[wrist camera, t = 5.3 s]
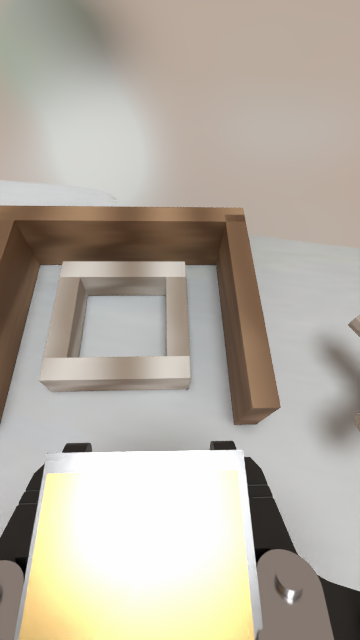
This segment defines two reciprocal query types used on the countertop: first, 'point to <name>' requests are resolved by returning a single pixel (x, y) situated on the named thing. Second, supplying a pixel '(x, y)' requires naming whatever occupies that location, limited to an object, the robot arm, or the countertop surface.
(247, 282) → the walnut bay
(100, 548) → the block
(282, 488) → the countertop surface
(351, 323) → the light wood cross piece
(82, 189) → the countertop surface
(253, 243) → the countertop surface
